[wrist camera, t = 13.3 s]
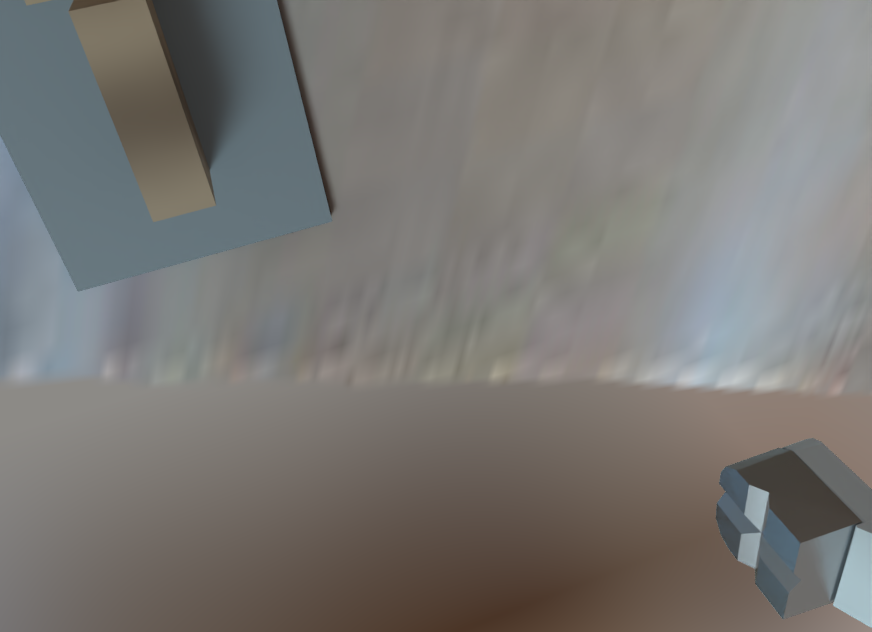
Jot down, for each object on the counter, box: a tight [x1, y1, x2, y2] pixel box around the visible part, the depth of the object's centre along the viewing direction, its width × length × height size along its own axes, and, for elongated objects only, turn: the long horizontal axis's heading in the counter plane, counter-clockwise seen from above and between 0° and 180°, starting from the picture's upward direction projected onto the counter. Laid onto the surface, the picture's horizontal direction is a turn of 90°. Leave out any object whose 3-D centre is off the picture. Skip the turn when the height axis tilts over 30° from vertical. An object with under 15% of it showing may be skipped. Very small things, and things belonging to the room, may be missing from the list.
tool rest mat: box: [0, 0, 332, 291], centre depth 30 cm, size 12×20×1 cm, turn 8°
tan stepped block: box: [24, 0, 216, 222], centre depth 28 cm, size 14×6×4 cm, turn 8°
